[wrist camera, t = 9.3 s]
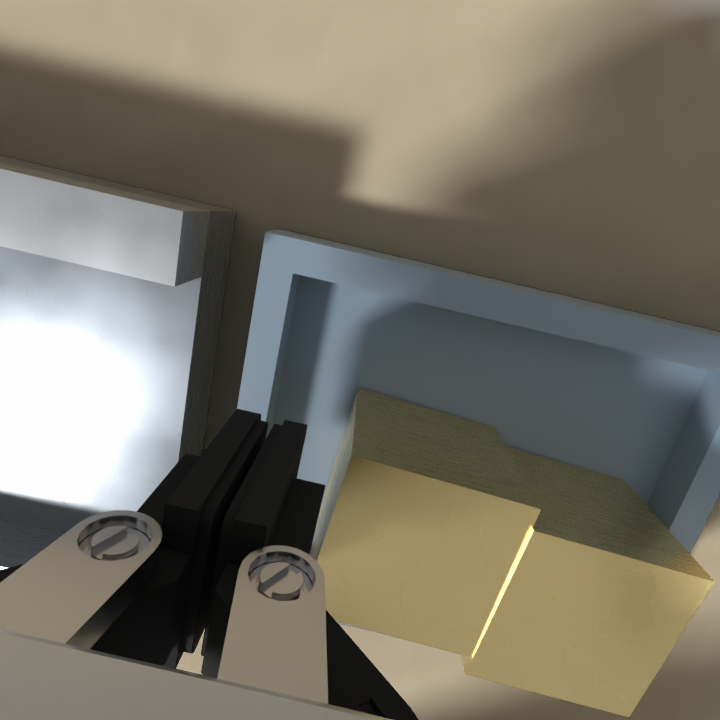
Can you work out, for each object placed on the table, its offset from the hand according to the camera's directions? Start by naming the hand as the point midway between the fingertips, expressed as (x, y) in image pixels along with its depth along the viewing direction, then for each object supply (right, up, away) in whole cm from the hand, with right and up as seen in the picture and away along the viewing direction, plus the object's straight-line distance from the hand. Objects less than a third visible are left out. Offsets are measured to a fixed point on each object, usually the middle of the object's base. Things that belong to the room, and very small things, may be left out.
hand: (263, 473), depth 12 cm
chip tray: (+5, 0, +3) cm, 6 cm away
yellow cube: (+4, -1, +3) cm, 4 cm away
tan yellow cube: (+7, -2, +3) cm, 8 cm away
